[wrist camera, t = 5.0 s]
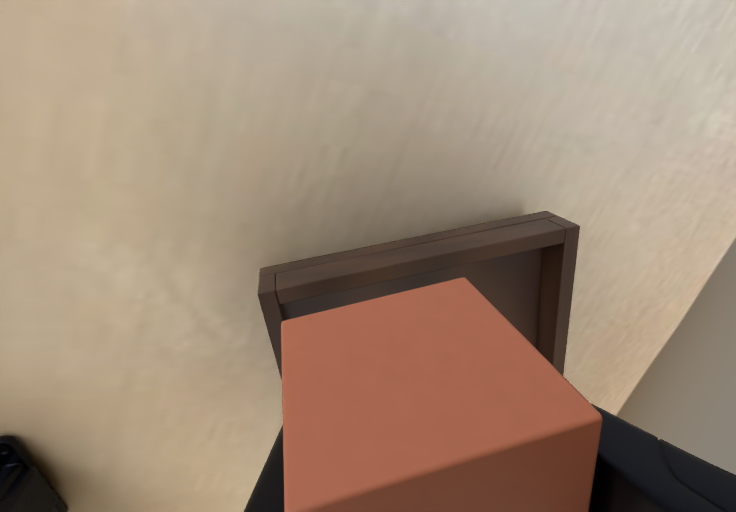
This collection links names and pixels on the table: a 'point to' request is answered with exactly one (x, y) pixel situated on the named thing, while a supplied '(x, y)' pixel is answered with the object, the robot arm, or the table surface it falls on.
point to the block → (429, 411)
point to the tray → (444, 276)
